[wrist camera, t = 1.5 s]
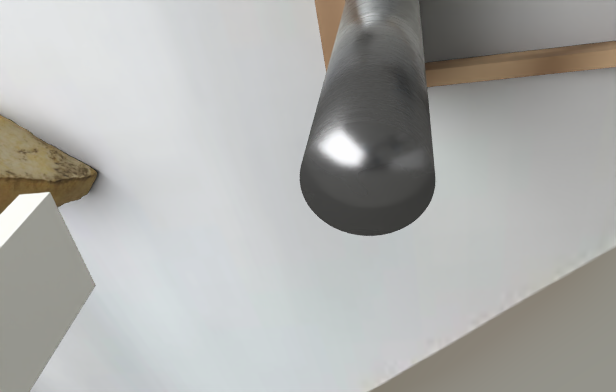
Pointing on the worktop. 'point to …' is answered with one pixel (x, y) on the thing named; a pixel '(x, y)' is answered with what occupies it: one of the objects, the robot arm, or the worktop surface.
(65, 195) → the rock
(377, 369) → the worktop surface
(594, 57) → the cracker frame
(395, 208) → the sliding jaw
